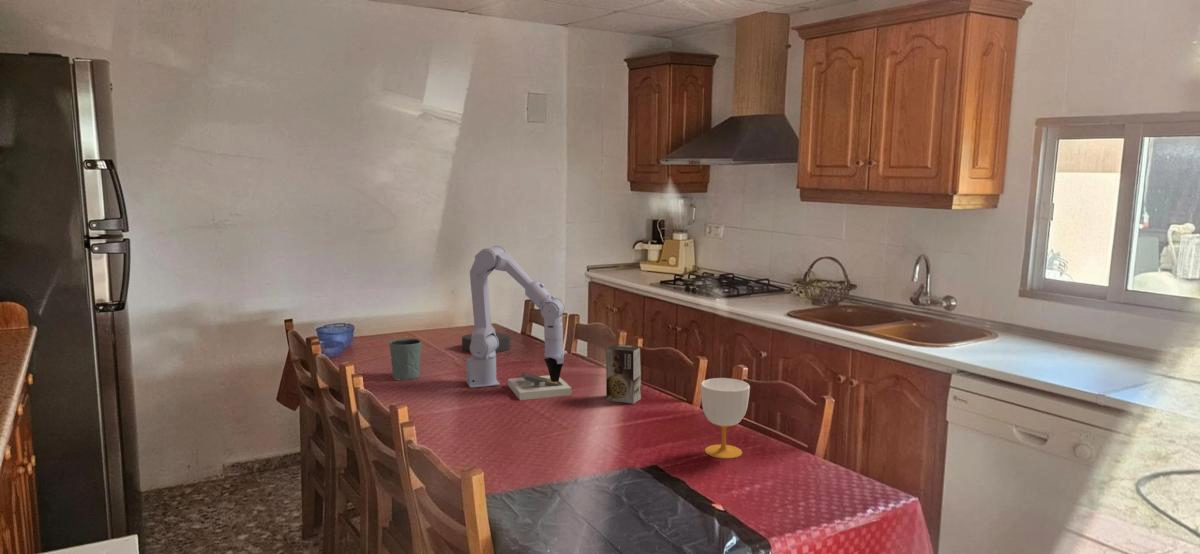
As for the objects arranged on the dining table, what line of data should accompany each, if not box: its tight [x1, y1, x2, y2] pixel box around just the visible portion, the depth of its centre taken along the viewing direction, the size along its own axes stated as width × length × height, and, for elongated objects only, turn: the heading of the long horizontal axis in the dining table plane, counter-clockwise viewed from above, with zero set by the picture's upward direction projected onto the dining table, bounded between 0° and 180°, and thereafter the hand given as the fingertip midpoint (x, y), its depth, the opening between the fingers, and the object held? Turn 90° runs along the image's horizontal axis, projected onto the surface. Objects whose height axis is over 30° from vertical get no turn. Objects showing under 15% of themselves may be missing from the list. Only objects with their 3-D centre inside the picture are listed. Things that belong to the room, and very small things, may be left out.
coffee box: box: [605, 343, 642, 405], centre depth 233 cm, size 9×6×16 cm
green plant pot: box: [389, 338, 423, 381], centre depth 257 cm, size 10×10×12 cm
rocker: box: [520, 371, 559, 387], centre depth 242 cm, size 11×5×1 cm, turn 109°
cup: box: [700, 377, 751, 460], centre depth 190 cm, size 12×12×17 cm
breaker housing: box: [507, 374, 573, 401], centre depth 242 cm, size 16×16×4 cm
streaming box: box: [461, 331, 511, 354], centre depth 296 cm, size 14×14×5 cm
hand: (554, 381), depth 244 cm, fingers closed, pressing on rocker
